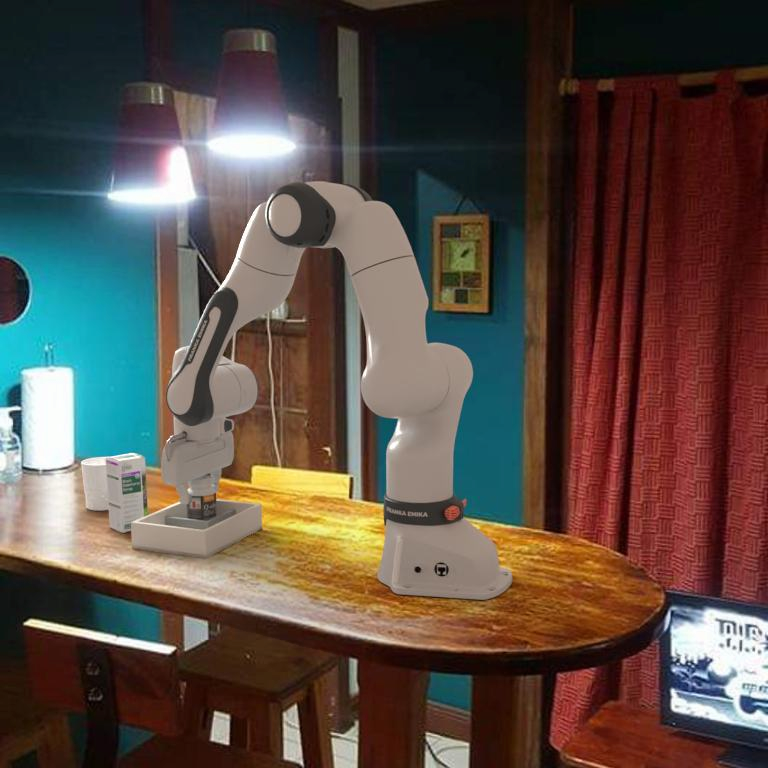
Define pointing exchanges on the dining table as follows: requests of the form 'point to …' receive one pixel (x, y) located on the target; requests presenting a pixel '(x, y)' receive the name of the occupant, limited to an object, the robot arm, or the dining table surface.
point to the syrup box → (126, 490)
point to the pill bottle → (202, 499)
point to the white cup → (95, 483)
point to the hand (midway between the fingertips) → (199, 497)
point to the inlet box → (196, 529)
